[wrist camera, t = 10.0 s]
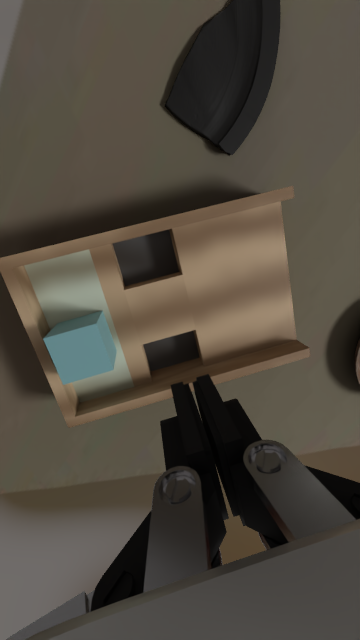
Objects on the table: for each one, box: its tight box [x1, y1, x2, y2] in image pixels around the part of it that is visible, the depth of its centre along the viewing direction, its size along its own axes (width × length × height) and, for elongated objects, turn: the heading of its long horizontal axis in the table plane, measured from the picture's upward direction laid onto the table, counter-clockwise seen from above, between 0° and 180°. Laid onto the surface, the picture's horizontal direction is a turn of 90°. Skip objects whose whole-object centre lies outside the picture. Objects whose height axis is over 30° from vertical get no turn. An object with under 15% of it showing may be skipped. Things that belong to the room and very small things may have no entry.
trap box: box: [0, 186, 310, 428], centre depth 29 cm, size 17×26×6 cm, turn 104°
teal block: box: [43, 311, 117, 385], centre depth 26 cm, size 4×4×4 cm
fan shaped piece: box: [165, 0, 280, 156], centre depth 26 cm, size 8×14×2 cm, turn 148°
